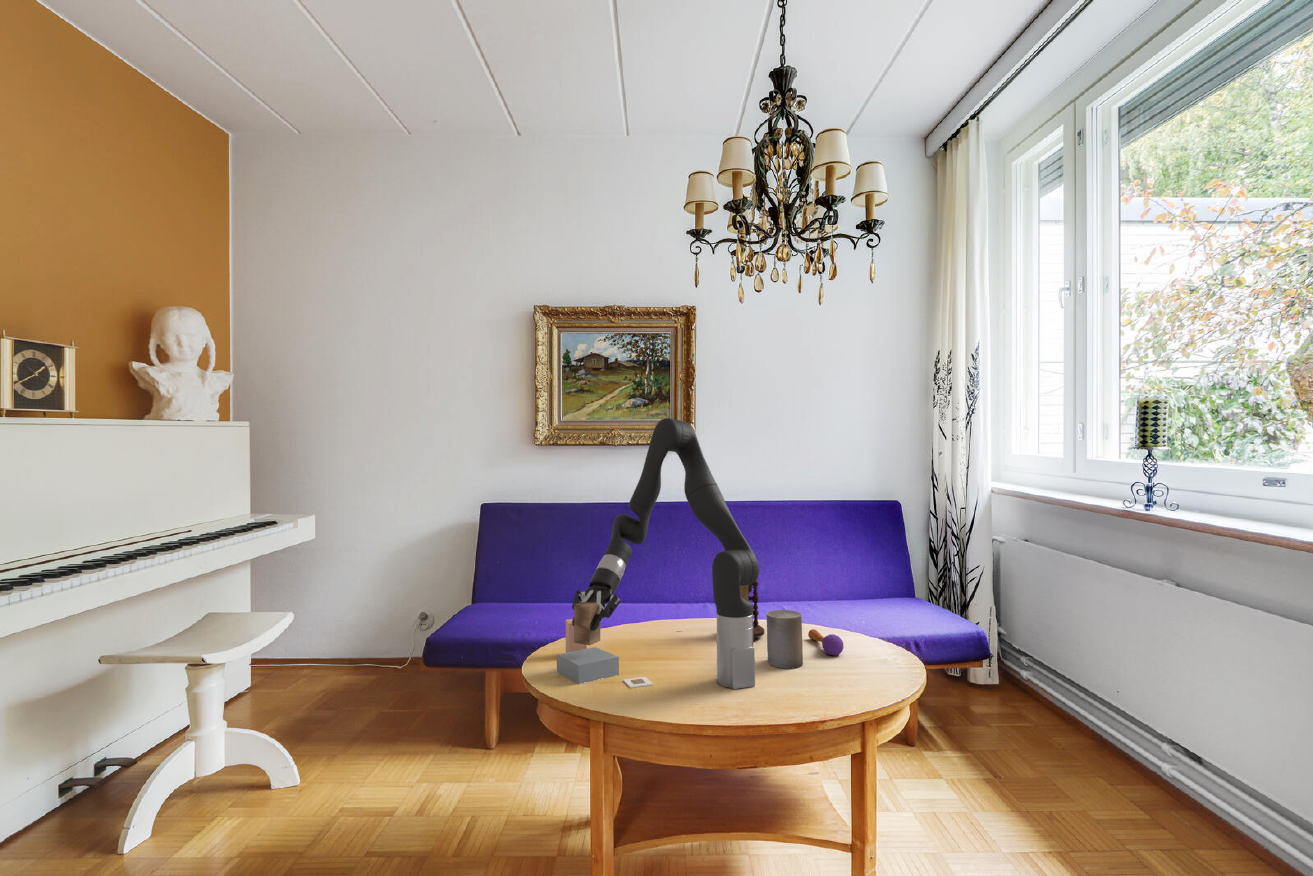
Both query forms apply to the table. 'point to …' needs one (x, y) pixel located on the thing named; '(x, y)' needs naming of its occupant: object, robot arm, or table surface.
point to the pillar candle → (784, 638)
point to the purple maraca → (828, 642)
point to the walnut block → (585, 623)
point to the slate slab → (587, 665)
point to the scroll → (745, 594)
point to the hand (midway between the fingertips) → (583, 627)
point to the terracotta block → (572, 638)
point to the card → (637, 682)
